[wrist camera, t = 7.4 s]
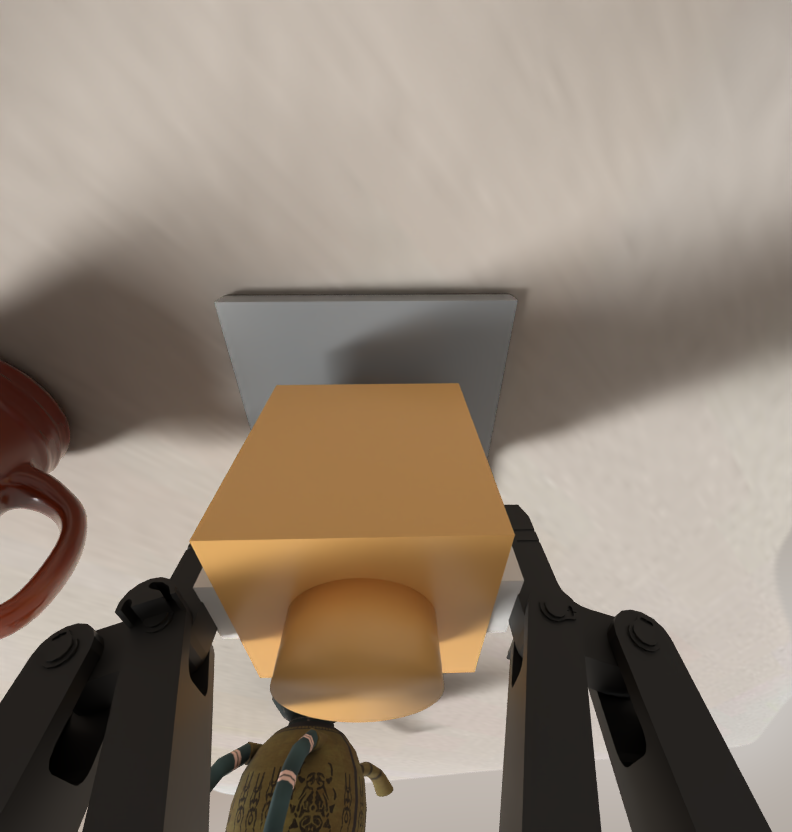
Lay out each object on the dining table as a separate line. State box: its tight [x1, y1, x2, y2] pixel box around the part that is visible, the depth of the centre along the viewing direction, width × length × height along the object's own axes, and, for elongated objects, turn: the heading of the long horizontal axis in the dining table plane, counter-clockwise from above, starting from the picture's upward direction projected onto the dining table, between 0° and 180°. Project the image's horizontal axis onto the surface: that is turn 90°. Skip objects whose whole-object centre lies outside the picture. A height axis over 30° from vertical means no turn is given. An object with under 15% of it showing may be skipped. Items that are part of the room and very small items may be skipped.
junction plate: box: [214, 294, 518, 458], centre depth 15 cm, size 12×12×6 cm
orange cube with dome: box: [189, 383, 515, 722], centre depth 12 cm, size 7×7×9 cm
